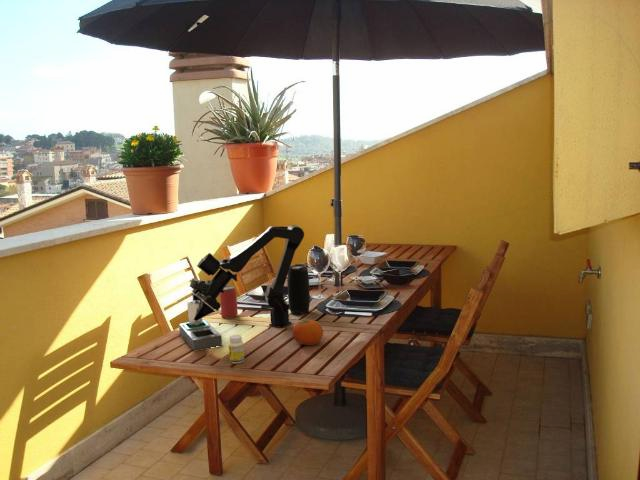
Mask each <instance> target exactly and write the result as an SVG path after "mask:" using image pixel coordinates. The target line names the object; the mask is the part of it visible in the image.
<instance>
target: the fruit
mask: <svg viewBox="0 0 640 480" xmlns="http://www.w3.org/2000/svg"><path fill="white" fill-rule="evenodd" d="M323 330H324V329H323V327H322V325H321V324H320V322H317V321H315V320H314V319H305V320H300V321H298V322H297V323H295V325H294V326H293V328H292V338H293V339H294V340H295V342H296V343H298V344H299V345H304V346H314V345H316V344H318V343H320V341H321V340H322V339H323V335H324V331H323Z"/></svg>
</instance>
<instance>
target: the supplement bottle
mask: <svg viewBox="0 0 640 480" xmlns="http://www.w3.org/2000/svg"><path fill="white" fill-rule="evenodd" d="M228 341H229V343H228V353H229V354H228V355H229V362H230V363H231V362H232V363H231V364H241V362H242V363H244V362H245V348H244V341H243V337H242V335H241V334H231V335H229V337H228Z"/></svg>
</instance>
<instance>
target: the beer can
mask: <svg viewBox="0 0 640 480" xmlns="http://www.w3.org/2000/svg"><path fill="white" fill-rule="evenodd" d="M223 291H224V292H223V294H222V293H220V294H219V298H220V300H219V301H220V302H219V303H220V306H221V307H220V312H221V313H220V315H221V317H222V318H224V319H232V318H235V317H237V316H238V314H239V313H238V298H237V297H238V296H237V290H236V288H235V286H232V285H227V286H226V287H225V288H224V289H223Z"/></svg>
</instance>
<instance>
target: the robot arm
mask: <svg viewBox="0 0 640 480" xmlns="http://www.w3.org/2000/svg"><path fill="white" fill-rule="evenodd" d="M304 237H305V232H304V229H302V228H301V227H300V226H298V225H297V224H291V225H289V226H283V225H282V226H281V225H279V226H276V225H270V226H269V227H268V228H267V229H266V230H264V232H262V233H260V234H259V235H258V236H257V237H256V238H255V239H253V241H251V242H250V243H249V244H248V245H246V247H244V248H242V249H241V250H237V251H236V252H234V253H233V254H231V255H229V256H228V257H227V258H225V259H220V260H219V259H217V258H216V257H215V256H214V255H213V254H212V253H211V252H208V253H206V255H205V256H203V257H202V258H201V259H200V260H199V262H198V264H197V265H196V267H197V268H198V269H199V270H201V271H202V272H203V273H205V274H206V275H207V276H213V277H212V278H211V280H210V279H208V280H207V281H206V280H202V279H196V278H191V281H190V283H189V287H190V288H191V289H192V290H191V292H192V293H191V295H192V300H191V301H193V300H200V301H201V308H200V309H199V311H198V312H197V314H196V316H195V318H194V320H195V321H197V320H199V319H201V318H202V319H203V318H204V317H206V316H208V315H210V314H213V313H216V312H218V311H220V310H221V302H218V300H217V298H218V297H220V293H222V294H223V292H224V291H223V289H224V288H225V287H226V286H228V285H229V283H230V282H231V281H232V280H233V281H235V282H238V274H237V273H240V272H241V271H242V270H243V269H244V268H245V267H246V265H247V264H248V263H249V261H250V259H252V257H253V256H254V255H256V254H257V253H258V252H259V251H260V250H262V249H263V248H264V247H266V246H267V245H268V244H269V243H271V241H272V240H274V239H275V238H280V239H285V241H284V248H283V252H282V255H281V258H280V261H279V264H278V266H277V271H276V273H275V277H274V280H273V281H272V283H271V285H270V284H267V285H266V290H265V292H264V296H265V297H264V298H265V301H266V302H267V304H268V306H269V307H270V313H269V315H270V323H269V325H268V326H271V327H276V328H281V329H282V328H285V327H287V326H289V325H291V324H292V321H290V313H289V312H290V308H289V304H288V303H287V302H286V300H285V299H284V294H285V293H284V292H285V291H284V290H285V283H286V282H287V278H288V272H289V269H290V266H292V261H293V258H294V257H295V253H296V251H297V249H298V248H299V246H300V245H301V244H302V241H303V240H304ZM186 314H188V311H187V313H186Z"/></svg>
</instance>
